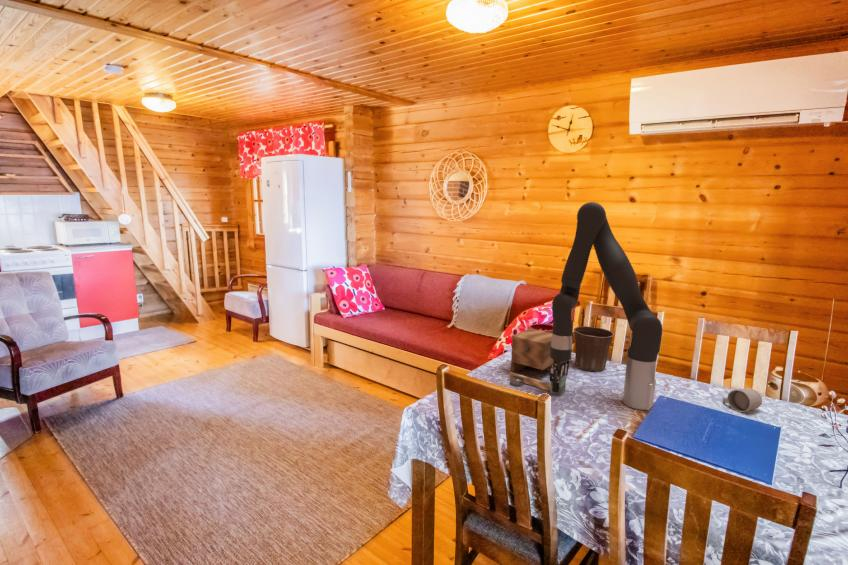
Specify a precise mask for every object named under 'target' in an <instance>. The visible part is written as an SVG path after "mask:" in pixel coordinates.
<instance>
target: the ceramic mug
mask: <svg viewBox="0 0 848 565" xmlns="http://www.w3.org/2000/svg"><path fill="white" fill-rule="evenodd" d="M722 401H723V403H724V404H728V405H729V406H730V408H731V409H732V410H734V411H736V412H738V413H746V412H749V411H753V410H754V411H755V410H756V409H759V408H760V407H761V406H762V403H763V398H762V396H761V394H760V393H759V392H758V391H757V390H755V389H753V388H746V387H745V388H737V389H733V390H730V391H729V393H728V394H727V396H726V397H723V398H722Z"/></svg>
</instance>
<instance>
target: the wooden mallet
mask: <svg viewBox="0 0 848 565" xmlns="http://www.w3.org/2000/svg"><path fill="white" fill-rule="evenodd" d="M557 374H559V373H557ZM512 376H519V377H522V378H523V384H526V385H529V386H532V387H536V388H538V389H542V390H544V391H545V390H546V391H549V392H550V394H554V395H557V396H559V397H561V396H562V395H564V394H565V393H566V386H567V384H566V382H567V376H566V374H562V377H560V381H559V391H558V392H557V393H556V392H553V391H552V384H553V382H547V381H543V380H540V379H537V378H534V377H533V378H532V377H530V376H525V375H523V374H520V373H517V372H516V373H512V372H511V371H510V372H509V379H510V378H511V377H512ZM557 378H558V377H557Z"/></svg>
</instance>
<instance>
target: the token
mask: <svg viewBox="0 0 848 565" xmlns="http://www.w3.org/2000/svg"><path fill="white" fill-rule="evenodd" d="M509 384H510V386H512V387H519V388H521V387H523V386H524V383H523V378H522V377H519V376H512V377H511V378H510V377H509Z"/></svg>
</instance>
